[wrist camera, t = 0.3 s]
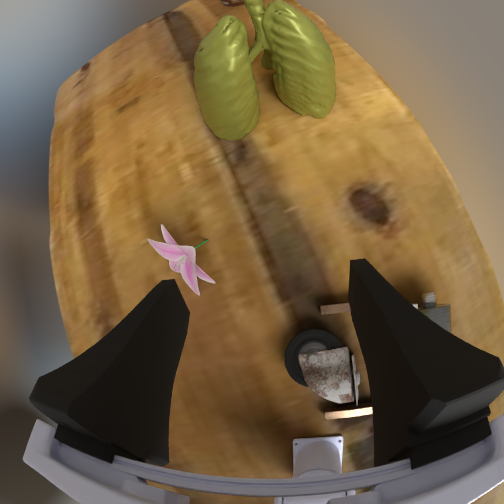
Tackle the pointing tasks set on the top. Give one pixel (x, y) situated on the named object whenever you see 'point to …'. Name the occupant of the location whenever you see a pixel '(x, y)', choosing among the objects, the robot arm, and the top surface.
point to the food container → (232, 2)
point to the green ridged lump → (275, 58)
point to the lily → (181, 259)
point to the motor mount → (430, 308)
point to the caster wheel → (323, 365)
